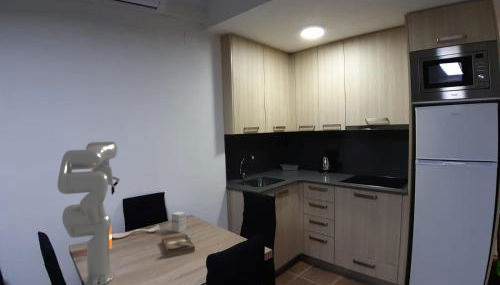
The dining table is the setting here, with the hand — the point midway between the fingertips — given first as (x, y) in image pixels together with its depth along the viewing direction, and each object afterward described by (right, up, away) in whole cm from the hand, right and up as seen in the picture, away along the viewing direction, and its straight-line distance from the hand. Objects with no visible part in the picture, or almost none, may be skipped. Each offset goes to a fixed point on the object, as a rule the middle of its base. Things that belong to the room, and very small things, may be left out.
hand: (102, 195), depth 148 cm
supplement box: (+30, -34, +44) cm, 64 cm away
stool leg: (+40, -31, +8) cm, 51 cm away
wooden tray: (+37, -35, +16) cm, 53 cm away
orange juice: (-9, -36, +16) cm, 40 cm away
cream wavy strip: (+2, -35, +38) cm, 52 cm away
